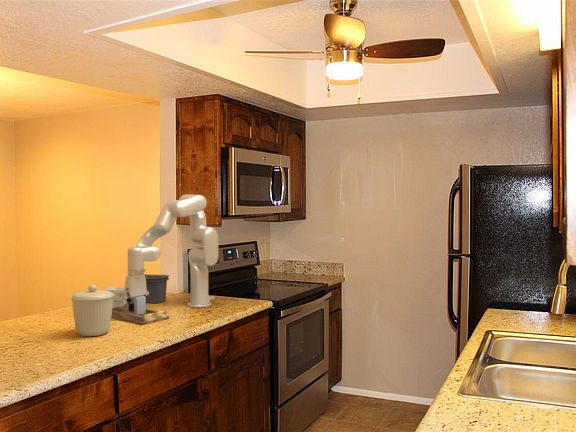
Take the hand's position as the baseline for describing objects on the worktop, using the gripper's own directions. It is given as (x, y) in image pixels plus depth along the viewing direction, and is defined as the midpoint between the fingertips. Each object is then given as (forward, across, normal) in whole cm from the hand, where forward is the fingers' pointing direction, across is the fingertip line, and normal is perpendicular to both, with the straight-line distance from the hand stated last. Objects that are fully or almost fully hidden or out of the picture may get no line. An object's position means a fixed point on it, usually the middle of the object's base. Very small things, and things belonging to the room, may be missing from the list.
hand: (136, 309), depth 264 cm
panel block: (+1, 0, 0) cm, 1 cm away
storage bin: (+4, -30, -27) cm, 40 cm away
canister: (+4, +30, +10) cm, 32 cm away
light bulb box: (+4, -7, -25) cm, 26 cm away
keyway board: (+4, 0, 0) cm, 4 cm away
